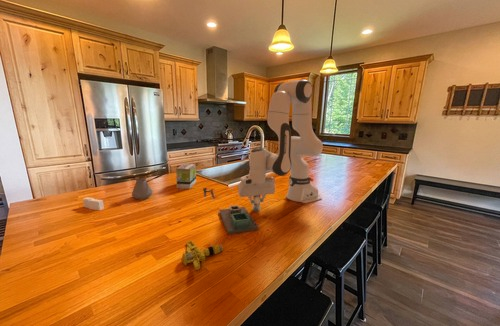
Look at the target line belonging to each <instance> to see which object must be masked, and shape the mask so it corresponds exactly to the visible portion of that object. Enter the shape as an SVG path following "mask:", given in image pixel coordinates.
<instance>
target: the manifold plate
mask: <svg viewBox="0 0 500 326" xmlns="http://www.w3.org/2000/svg"><path fill="white" fill-rule="evenodd" d="M218 211H219V212H218V213H219V215H220V218H221V220H222V222H223V226H224V227H225V231H226V233H227V235H229V236H230V235H234V234H239V233H241V234H242V233H246V232H253V231H259V225H258V224H257V222H256V221H255V220H254V218H253V217H252V216H251V215H252V214H250V213H249V212H248V210H247V208H246V207H245V206H240V205H238V204H237V205H230V206H228V208H224V209H219V210H218Z"/></svg>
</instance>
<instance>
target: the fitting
mask: <svg viewBox="0 0 500 326" xmlns="http://www.w3.org/2000/svg"><path fill="white" fill-rule="evenodd" d="M260 198H261V195H260V194H257V195H256V196H252V199H253V203H252V211H253V213H259V212H261V202H260Z"/></svg>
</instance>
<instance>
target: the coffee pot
mask: <svg viewBox="0 0 500 326" xmlns="http://www.w3.org/2000/svg"><path fill="white" fill-rule="evenodd" d="M165 175H167V176H169V173H168V172H167V171H166V172H164V173H162V174H159V175H156V176H154V177H153V178H150V179H148V180H147V176H145V175H140V176H136V177H135V178H134V179H135V184H134V187H133V188H132V192H131V196H132V198H135V199H136V200H141V201H142V200H146V199H148V198H150V197H151V196H152V194H153V190H152V188H151V186H150V184H149V182H151V181H153V180H156V179H158V178H161V177H162V176H165Z"/></svg>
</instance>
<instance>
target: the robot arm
mask: <svg viewBox="0 0 500 326" xmlns="http://www.w3.org/2000/svg"><path fill="white" fill-rule="evenodd" d="M313 91H314V90H313V85H312V83H311V82H310V81H309V80H308V79H307V80H306V79H301V80H300V79H299V80H297V79H295V80H289V81H286V82H281V83H278V84H277V85H276V86H275V88H274V91H273V94H272V95H271V98H270V101H269V106H268V111H267V119H266V120H267V125H268V126H269V128H270V129H271V130H272V131H273V132H275V134H276V135H277V138H278V150H277V151H278V152H277V153H274V152H271V151H269V150H267V149H266V148H265V147H255V148H252V149H251V150H250V154H249V164H248V165H249V171H248V172H249V173H248V174H246V175H244V176H241V177H240V179H239V180H240V182H239V185H238V191H237V194H238V196H239V197H240V198H246V197H248V199H249V203H250V204H251V205H253V196H256V195H257V194H260V196H261V197H260V203H264V200H265V198H266V196H267V195H272V194H273V195H274V194H275V192H276V185H275V184H276V179H275V178H274V177H273V176H270V177H267V171H269V172H271V173H274V174H275V175H277V176H278V177H279V176H280V177H284V176H286V175H287V174H288V173H289V172H290V174H289V178H288V179H289V180H288V184H289V186H288V190H287V193H286V195H285V196H286V198H287V199H288V200H289V201H293V202H299V203H303V204H308V203H311V202H316V201H320V200H322V199H323V197H322V196H321V194H319V190H318V188H317V187H316V186H315V185H314V184H313V183H312V182H314V180H315V179H314V178H313V177H309V171H310V165H309V163H308V162H307V161H305V159H304V158H303V157H304V156H305V157H306V156H307V157H317V156H319V155H321V154H322V152H323V149H324V145H323V142H322V140H321V139H319V138H318V136H317V135H316V133H315V132H314V129H313V124H312V123H313V122H312V121H313V120H312V119H313V117H312V114H313V113H312V111H313V109H312V106H313V105H312V99H311V97H312V96H313ZM291 104H292V108H291ZM291 109H292V110H291ZM290 111H291V126H292V129H293V130H294V131H296V132H297V133H298V135H299V136H297V135H296V136H295V135H293V136H292V129H291V126H290V118H289V117H290Z"/></svg>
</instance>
